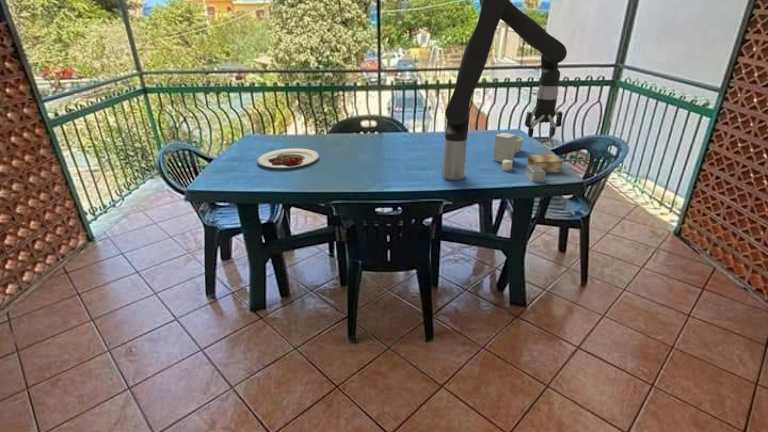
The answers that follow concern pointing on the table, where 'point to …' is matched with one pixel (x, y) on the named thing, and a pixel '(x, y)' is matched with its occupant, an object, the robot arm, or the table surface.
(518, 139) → the ramekin
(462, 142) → the robot arm
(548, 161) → the stand
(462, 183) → the table surface
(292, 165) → the plated food
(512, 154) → the supplement box
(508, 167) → the beige cube
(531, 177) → the housing
